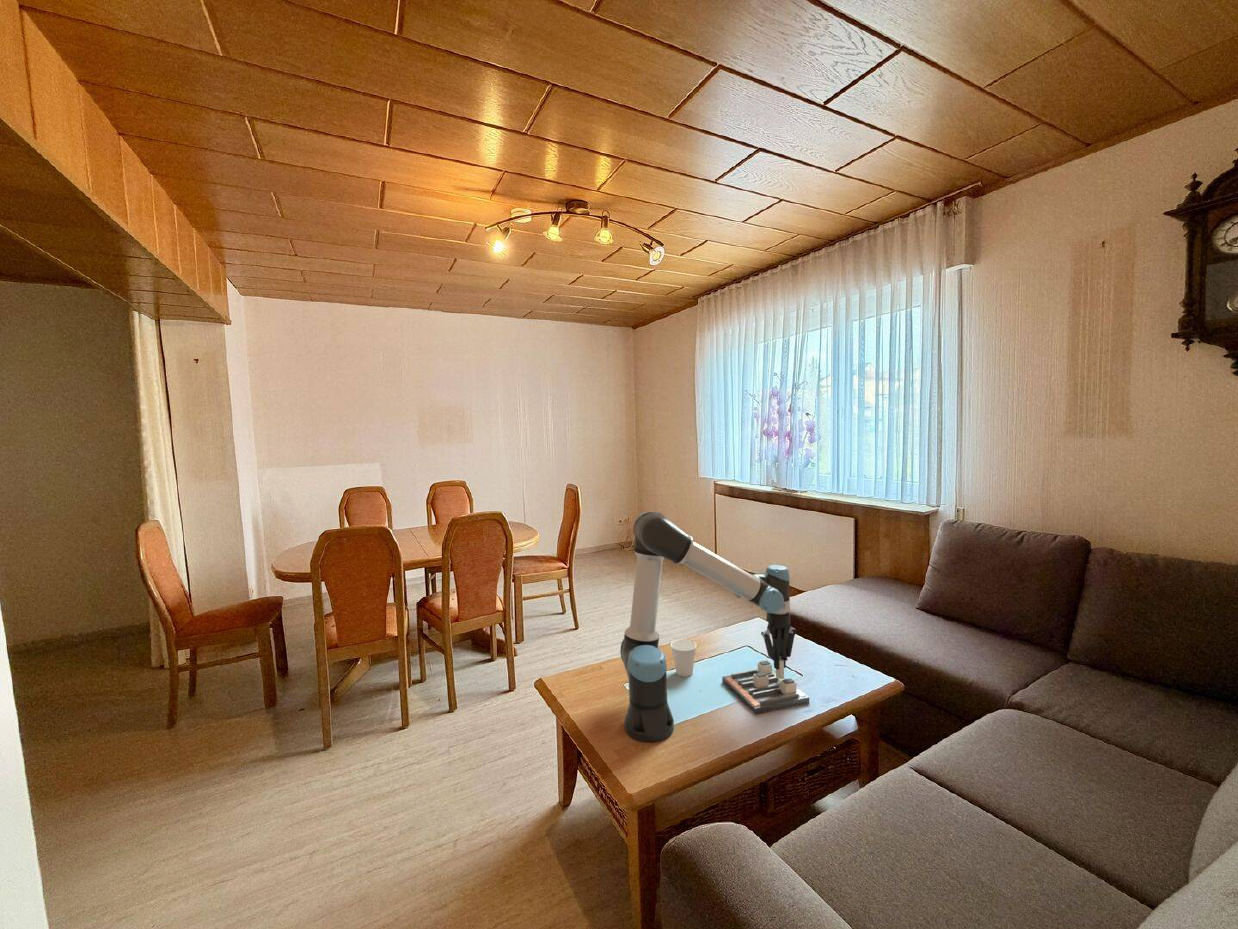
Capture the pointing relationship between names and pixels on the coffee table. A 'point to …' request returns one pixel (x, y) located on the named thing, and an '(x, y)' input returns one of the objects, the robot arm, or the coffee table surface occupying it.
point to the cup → (683, 656)
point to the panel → (762, 692)
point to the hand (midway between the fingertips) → (779, 677)
